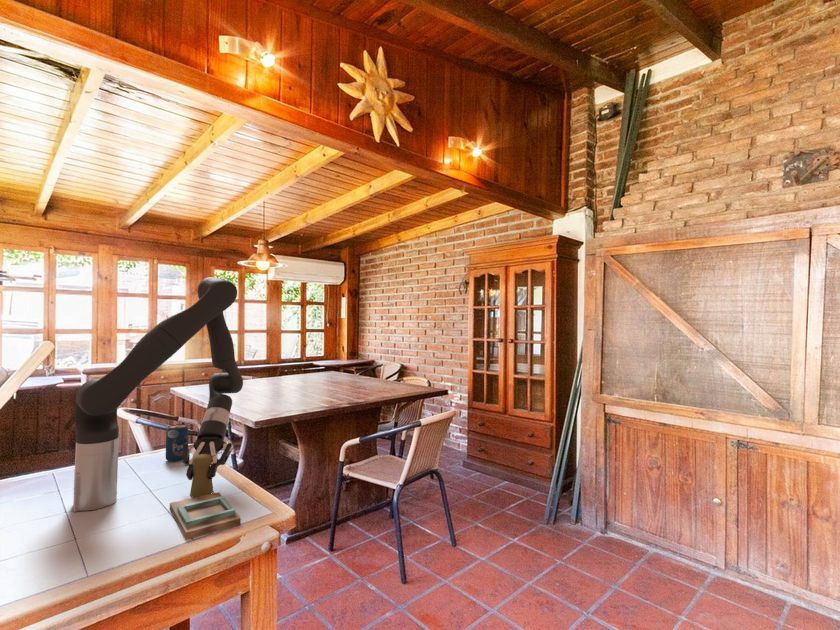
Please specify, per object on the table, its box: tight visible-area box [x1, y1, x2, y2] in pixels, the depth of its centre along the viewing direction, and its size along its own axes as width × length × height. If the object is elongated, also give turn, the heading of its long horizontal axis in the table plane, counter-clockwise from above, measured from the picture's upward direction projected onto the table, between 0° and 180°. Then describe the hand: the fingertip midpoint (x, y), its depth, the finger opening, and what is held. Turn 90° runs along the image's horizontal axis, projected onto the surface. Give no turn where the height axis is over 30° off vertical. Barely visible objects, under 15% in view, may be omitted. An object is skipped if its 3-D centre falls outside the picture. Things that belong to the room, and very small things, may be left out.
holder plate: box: [169, 491, 242, 540], centre depth 108 cm, size 12×20×3 cm, turn 39°
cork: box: [189, 454, 214, 498], centre depth 122 cm, size 6×6×11 cm
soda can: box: [165, 423, 190, 463], centre depth 151 cm, size 7×7×12 cm
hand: (200, 478), depth 121 cm, fingers closed on cork, 4 cm apart
